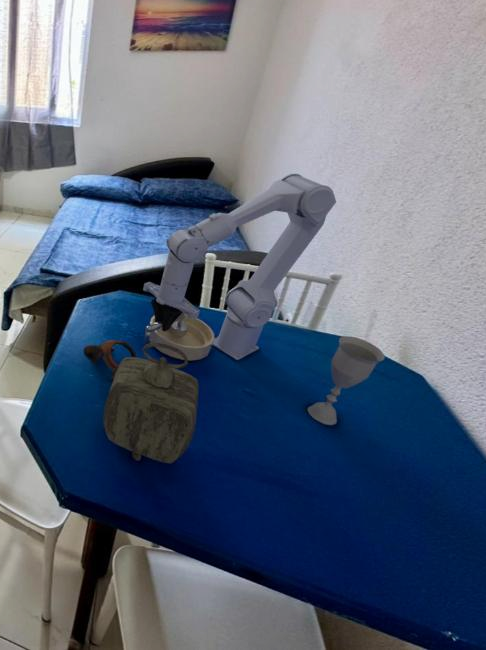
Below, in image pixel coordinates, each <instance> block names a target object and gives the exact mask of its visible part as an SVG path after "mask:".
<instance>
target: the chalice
mask: <svg viewBox="0 0 486 650" xmlns="http://www.w3.org/2000/svg"><path fill="white" fill-rule="evenodd" d="M338 344H339V345H338V347H337V349H336V351H335V353H334V355H333V356H332V358H331V365H330V371H331V379H332V382H333V384H335V386H334V387H333V388H331V389H330V391H331V393H330V394H327V395H326V398H327V400H326V401H325V402H324V401H319V402H315V403H314V404H312V405H310V406H309V407H307V412H308V414H309V415H310V416H311V417H312V418H313V419H314V420H316V421H317V422H319V423H321V424H323V425H328V426H333V425H336V424H337V422H338V420H337V411H336V409H335V407H334V406H333V404H334V403H337V402H338V399H337V397H338V396H340V395H341V390H342V388H343V389H349V388H352V387H354V386H356V385H358V384H361V383H363V382H364V381H365V380H367V379H368V378H369V377H370V375H371V374H372V372H373V371H374V369H375V367H376V366H377V364H378V363H380V362H382V361H384V360H385V358H386V357H385V354H384V353H383V351H382V350H381V349H380V348H378V347H377V346H376V345H374V344H373V343H371V342H368V341H367V340H364V339H362V338H358V337H355V336H349V335H348V336H347V335H346V336H341V337H340V338H339V339H338Z"/></svg>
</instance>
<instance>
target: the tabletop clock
mask: <svg viewBox="0 0 486 650" xmlns="http://www.w3.org/2000/svg"><path fill="white" fill-rule="evenodd" d="M152 347H154V348H155V347H162V348H166V349H169V350H172V351H175V352H177V353H178V354H180V355H181V356H182V357H183V358H184V360H183V361H184V363H182V364H173V363H169V362H168V360H167V358H166V357H160V358H159V359H156V358H153V357H152V356H150V355H149V354H148V353H147V352H146V350H147V349H149V348H152ZM142 354H143V356H144V357H145V358H146V359H145V358H142V357H141V358H140V357H137V358H135V357H132V356H125V357H124V358H123V359H122V360H121V361H120V363H119V364H118V369H117V372H116V374H115V377H114V380H113V379H112V383H111V385H110V389H109V392H108V395H107V397H106V400H105V401H106V402H105V404H104V407H103V418H102V420H103V421H102V422H103V429H104V432H105V434H106V437H107V439H108V440H109V441H111V442H112V443H114V444H115V445H117V446H119V447H121V448H123V449H125V450H128V451H130V452H132V454H131V456H132V458H133V459H134V461H137V462H138V461H141V459H142V456H144V457H145V458H149V459H150V460H154V461H157V462H161V463H164V464H172V463H174V462H175V461H176V460H178V459H179V458H181V457H182V456H183V455H184V454H185V452H187V451H186V450H187V449H188V448H189V446H190V443H191V441H192V440H193V438H194V437H193V436H194V433H195V429H196V424H197V423H196V422H197V414H198V413H197V412H198V401H199V391H200V390H199V389H200V388H199V387H200V386H199V382H198V379H197V378H195V377H194V376H192V375H191V374H189V373H187V372H185V371H182V370H180V369H182V368H185V367H187V365H188V363H189V360H188V359H187V356H186V355H185V354H184V353H183V352H182V351H181V350H179V349H178V348H175V347H173V346H170V345H167V344H162V343H151V342H149V343H148V344H147V345H145V346H144V345H143V347H142Z"/></svg>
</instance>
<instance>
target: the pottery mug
mask: <svg viewBox="0 0 486 650" xmlns="http://www.w3.org/2000/svg"><path fill="white" fill-rule="evenodd" d="M115 345H119V346H122V347H123V348H125V349H127V350H128V352H129V354H130V357H135V358H138V357H137V353H136V352H135V349H134V348H133V347H132V345H131V344H129V343H128V342H126V341H123V340H106V341H104V342H101V344H99V345H97V344H90V345H86V346H85V347H84V348H83V355H84V357H86V359H88V360H89V361H90V362H91V364H92V365H93V366H94V365H96V362H97V361H98V360H99V359H101V358H102V359H103V361H104V362H105V364H106V365H107V366H108V367H109V369H110V370H111V371H112V372H113V374H111V376H110V378H109V379H110V380H112V381H113V380H114V377H115V374H116V372H117V369H118V367H119V364H118V363H117V362H116V361H115V359H114V358H113V356H112V354H113V352H115V351H116V349H115V348H114V346H115Z"/></svg>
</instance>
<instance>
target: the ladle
mask: <svg viewBox="0 0 486 650" xmlns="http://www.w3.org/2000/svg"><path fill="white" fill-rule="evenodd" d="M184 318H185V313H182V314H181V315H180V316H179V317H178V318H177V319H176V320H175V322H174V323H173V324H172V326H171V328H170V329H169V332H170V333H171V334H173V335H175V336H179V337H182V336H185V335H186V333H187V330H188V326H187V325H186V324H185V323H184V322H182V321H183V319H184ZM163 322H164V320H161V321H159V322H157V323H154V324H152V325H150V324H149V325H147V326H146V327H145V333H144V336H143V340H142V345H143V347H144V346H145V345H147V344H149V343H150V341H149V338H150V335H151V332H152V331H155V330H157V329H160V328H162V326H163Z"/></svg>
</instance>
